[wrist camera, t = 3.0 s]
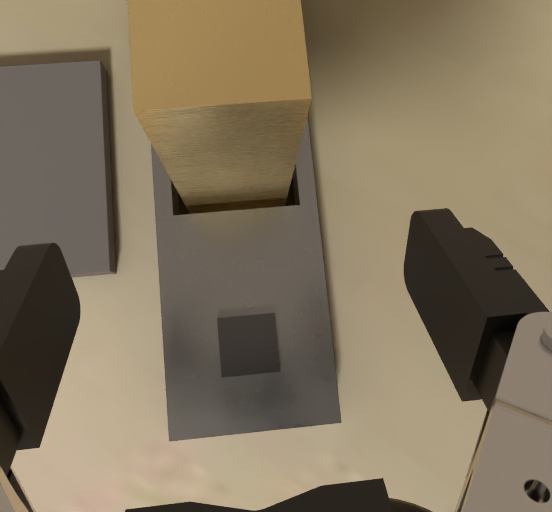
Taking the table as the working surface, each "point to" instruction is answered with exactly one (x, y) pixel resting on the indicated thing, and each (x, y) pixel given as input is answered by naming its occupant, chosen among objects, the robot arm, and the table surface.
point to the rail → (245, 313)
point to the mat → (57, 163)
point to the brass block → (222, 96)
